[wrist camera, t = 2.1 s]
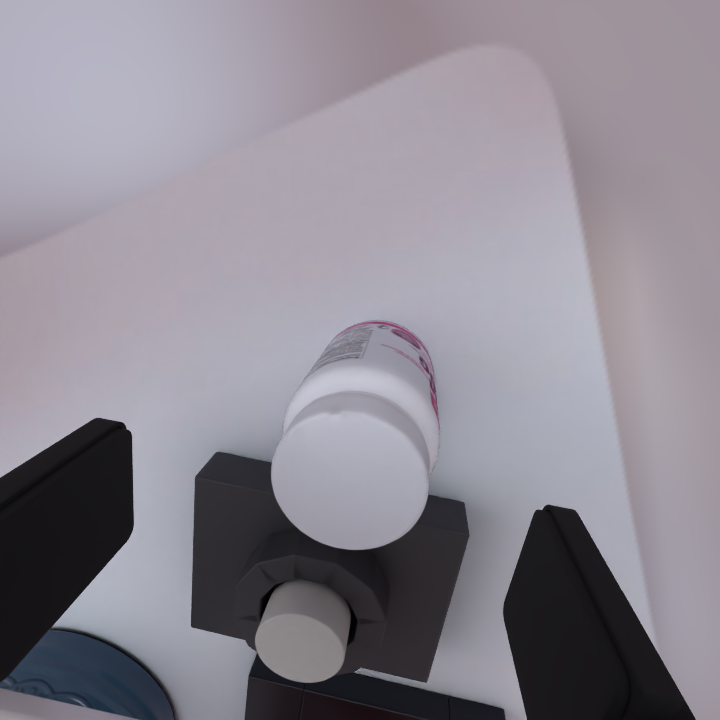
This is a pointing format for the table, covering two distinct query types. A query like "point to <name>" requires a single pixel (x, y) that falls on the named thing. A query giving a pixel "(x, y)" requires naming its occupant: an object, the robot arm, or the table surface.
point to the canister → (88, 677)
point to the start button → (304, 631)
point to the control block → (322, 569)
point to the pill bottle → (360, 439)
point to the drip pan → (351, 700)
